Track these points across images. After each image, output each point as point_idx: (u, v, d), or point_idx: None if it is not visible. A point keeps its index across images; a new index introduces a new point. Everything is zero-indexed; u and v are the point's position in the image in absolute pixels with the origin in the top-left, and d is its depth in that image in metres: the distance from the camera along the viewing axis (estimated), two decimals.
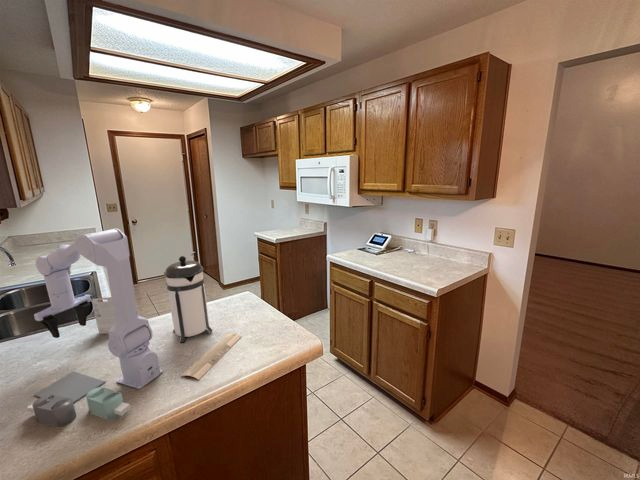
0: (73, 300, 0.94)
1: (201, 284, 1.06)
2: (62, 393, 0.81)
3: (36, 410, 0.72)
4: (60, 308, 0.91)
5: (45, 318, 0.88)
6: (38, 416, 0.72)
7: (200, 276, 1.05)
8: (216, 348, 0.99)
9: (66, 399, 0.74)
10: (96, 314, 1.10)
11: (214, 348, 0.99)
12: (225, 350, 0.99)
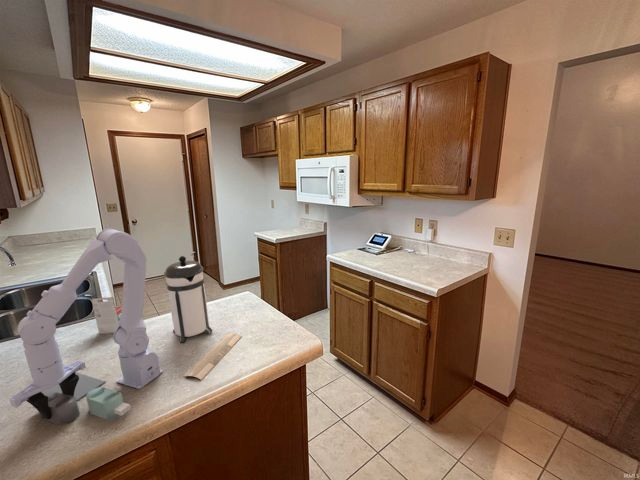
0: (62, 372, 0.73)
1: (201, 284, 1.06)
2: None
3: None
4: (45, 386, 0.69)
5: None
6: None
7: (200, 276, 1.05)
8: (217, 348, 0.99)
9: (70, 397, 0.74)
10: (96, 314, 1.10)
11: (215, 348, 0.99)
12: (226, 350, 0.99)
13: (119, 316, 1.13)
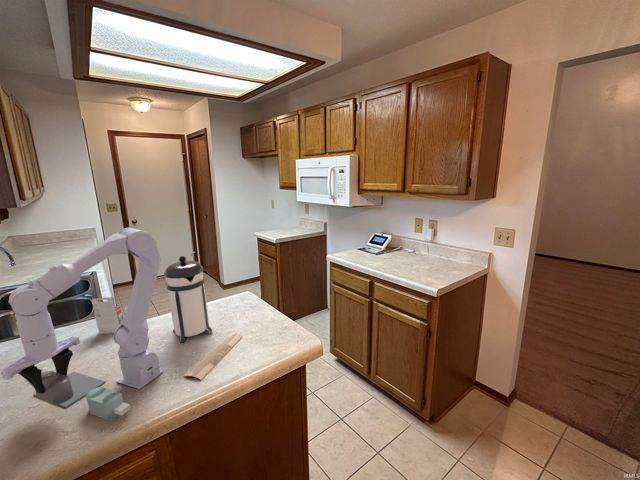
0: (55, 346, 0.71)
1: (201, 284, 1.06)
2: None
3: None
4: (37, 359, 0.68)
5: None
6: None
7: (200, 276, 1.05)
8: (217, 348, 0.99)
9: (64, 377, 0.73)
10: (96, 314, 1.10)
11: (215, 348, 0.99)
12: (227, 350, 0.99)
13: (119, 316, 1.13)
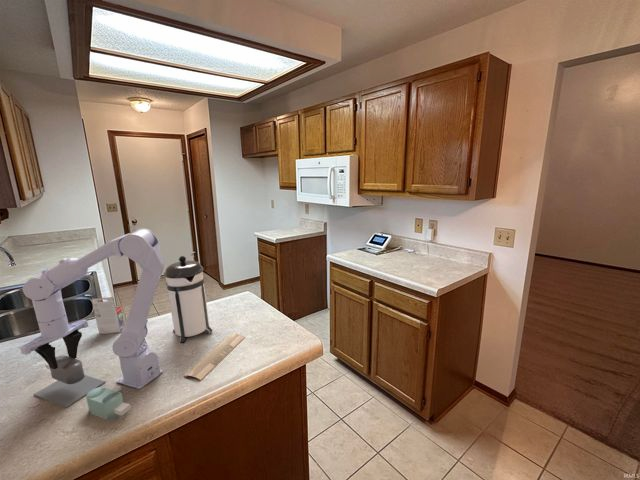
0: (67, 327, 0.80)
1: (201, 284, 1.06)
2: (62, 393, 0.81)
3: None
4: (51, 338, 0.77)
5: None
6: (52, 372, 0.81)
7: (200, 276, 1.05)
8: (219, 348, 0.99)
9: (76, 361, 0.82)
10: (96, 314, 1.10)
11: (217, 348, 0.99)
12: (228, 350, 0.98)
13: (119, 316, 1.13)
